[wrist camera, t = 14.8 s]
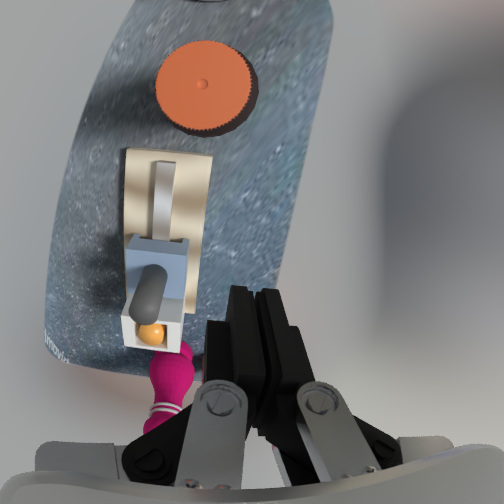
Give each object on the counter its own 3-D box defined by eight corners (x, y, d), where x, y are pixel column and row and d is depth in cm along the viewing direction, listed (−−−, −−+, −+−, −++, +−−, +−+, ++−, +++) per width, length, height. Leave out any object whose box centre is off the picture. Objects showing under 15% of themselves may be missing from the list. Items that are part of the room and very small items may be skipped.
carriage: (134, 233, 36) (106, 283, 26) (189, 239, 37) (179, 292, 27) (134, 274, 38) (112, 331, 28) (186, 280, 39) (177, 340, 30)
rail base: (130, 147, 32) (123, 150, 30) (213, 154, 34) (212, 158, 32) (129, 299, 42) (125, 310, 40) (195, 307, 44) (194, 319, 41)
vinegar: (186, 66, 29) (142, 24, 11) (246, 69, 30) (277, 28, 12) (181, 123, 32) (133, 148, 14) (241, 125, 33) (264, 152, 15)
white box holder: (135, 277, 39) (120, 315, 32) (186, 283, 40) (180, 323, 33) (136, 306, 41) (124, 345, 34) (184, 312, 42) (179, 353, 35)
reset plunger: (143, 304, 36) (137, 325, 32) (167, 307, 36) (162, 328, 33) (144, 322, 37) (139, 343, 34) (166, 325, 38) (163, 346, 34)
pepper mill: (159, 366, 49) (146, 467, 32) (147, 337, 46) (126, 445, 28) (199, 364, 50) (197, 468, 32) (191, 334, 46) (184, 448, 29)
